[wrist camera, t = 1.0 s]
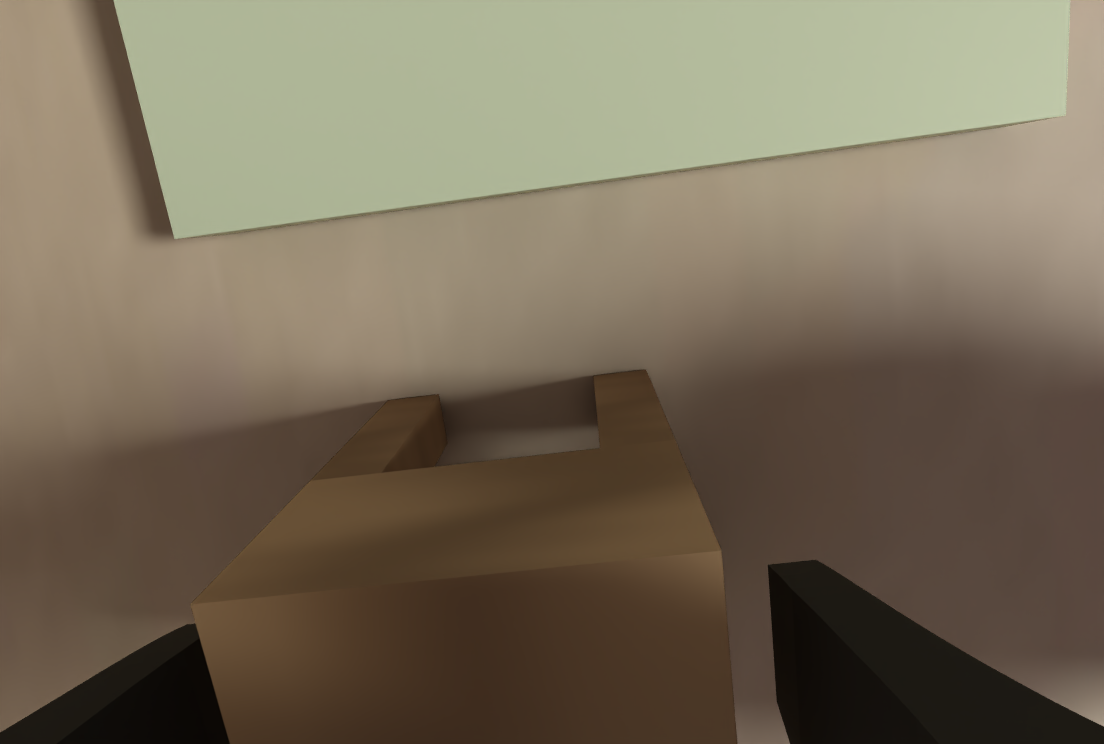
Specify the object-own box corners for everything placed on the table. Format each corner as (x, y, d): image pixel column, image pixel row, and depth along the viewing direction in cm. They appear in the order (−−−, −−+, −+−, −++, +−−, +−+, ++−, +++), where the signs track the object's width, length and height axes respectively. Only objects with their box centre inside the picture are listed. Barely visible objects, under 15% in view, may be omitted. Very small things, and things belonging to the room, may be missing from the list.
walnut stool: (645, 369, 13) (721, 551, 6) (670, 603, 14) (757, 974, 7) (388, 400, 13) (189, 604, 6) (432, 626, 14) (302, 1001, 8)
